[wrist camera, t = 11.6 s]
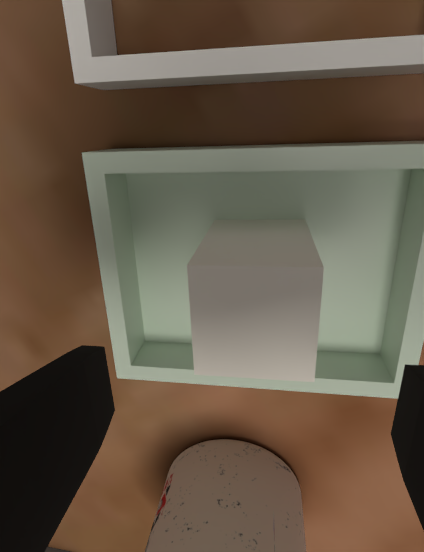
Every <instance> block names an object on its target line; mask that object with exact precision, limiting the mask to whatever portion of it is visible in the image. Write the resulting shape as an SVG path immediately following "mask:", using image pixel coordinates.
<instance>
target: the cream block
mask: <svg viewBox="0 0 424 552" xmlns="http://www.w3.org/2000/svg"><path fill="white" fill-rule="evenodd" d="M323 273H324V266H323V264H322V261H321V259H320V256H319V254H318V251H317V248H316V246H315V243H314V241H313V238H312V236H311V233H310V230H309V228H308V225H307V223H306V220H305V219H257V220H214V222H213V223H212V225H211V227H210V228H209V230H208V232H207V233H206V235H205V237H204V238H203V240H202V241H201V243H200V245H199V246H198V248H197V250H196V251H195V253H194V255H193V256H192V258H191V259H190V261H189V263H188V264H187V275H188V289H189V304H190V319H191V333H192V348H193V362H194V375H207V376H223V377H239V378H255V379H271V380H287V381H303V382H315V370H316V358H317V345H318V333H319V321H320V309H321V297H322V285H323Z"/></svg>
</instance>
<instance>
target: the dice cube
mask: <svg viewBox="0 0 424 552" xmlns="http://www.w3.org/2000/svg"><path fill="white" fill-rule="evenodd" d="M45 552H70V551H65V550H60V549H55V548H51V547H47V548H46V550H45Z"/></svg>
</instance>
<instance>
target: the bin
mask: <svg viewBox="0 0 424 552" xmlns="http://www.w3.org/2000/svg"><path fill="white" fill-rule="evenodd" d="M62 3H63V10H64V16H65V23H66V29H67V36H68V42H69V49H70V55H71V62H72V68H73V75H74V81H75V84H79V85H84V86H88V87H92V88H96V89H101V90H116V89H135V88H154V87H173V86H192V85H211V84H230V83H249V82H268V81H287V80H306V79H325V78H345V77H364V76H383V75H402V74H421V73H424V35H412V36H397V37H382V38H368V39H353V40H338V41H323V42H308V43H293V44H278V45H263V46H249V47H234V48H219V49H204V50H189V51H174V52H159V53H145V54H130V55H117V48H116V39H115V30H114V21H113V12H112V3H111V0H62Z"/></svg>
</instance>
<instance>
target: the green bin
mask: <svg viewBox="0 0 424 552" xmlns="http://www.w3.org/2000/svg"><path fill="white" fill-rule="evenodd" d="M82 158H83V164H84V170H85V177H86V183H87V189H88V196H89V202H90V209H91V215H92V221H93V228H94V234H95V240H96V247H97V253H98V259H99V266H100V272H101V279H102V285H103V291H104V298H105V304H106V310H107V317H108V323H109V330H110V336H111V342H112V349H113V355H114V361H115V368H116V374H117V378H122V379H136V380H150V381H164V382H177V383H191V384H205V385H219V386H232V387H246V388H260V389H274V390H287V391H301V392H315V393H329V394H342V395H356V396H370V397H383V398H397V399H398V396H399V392H400V387H401V382H402V377H403V372H404V367H405V364H406V365H418V364H419V359H420V355H421V350H422V346H423V341H424V141H389V142H351V143H314V144H276V145H239V146H202V147H164V148H127V149H106V150H98V151H90V152H82ZM257 219H305V220H306V223H307V225H308V228H309V230H310V233H311V236H312V238H313V241H314V243H315V246H316V248H317V251H318V254H319V256H320V259H321V261H322V264H323V266H324V273H323V285H322V297H321V309H320V321H319V333H318V345H317V358H316V370H315V382H303V381H287V380H271V379H255V378H239V377H223V376H207V375H194V362H193V348H192V333H191V319H190V304H189V289H188V275H187V264H188V263H189V261H190V259H191V258H192V256H193V255H194V253H195V251H196V250H197V248H198V246H199V245H200V243H201V241H202V240H203V238H204V237H205V235H206V233H207V232H208V230H209V228H210V227H211V225H212V223H213V222H214V220H257Z"/></svg>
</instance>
